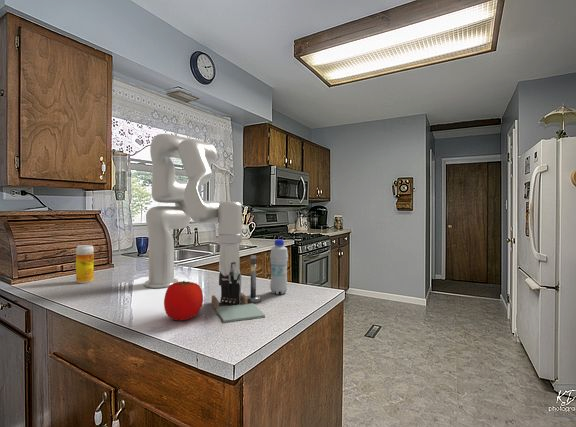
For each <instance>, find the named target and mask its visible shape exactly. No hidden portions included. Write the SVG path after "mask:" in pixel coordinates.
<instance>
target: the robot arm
mask: <svg viewBox="0 0 576 427" xmlns="http://www.w3.org/2000/svg"><path fill="white" fill-rule="evenodd" d="M216 149H217V148H215V146H214V145H213V144H211V143H210V142H207V141H206V142H205V141H202V140H198V139H193V138H189V137H184V136H180V135H175V134H170V133H159V134H157V135H155V136H154V137H153V138H152V140H151V142H150V149H149V150H150V151H149V152H150V159H151V164H152V172H151V173H152V174H151V175H152V177H151V197H152V200H153V201H155V202H157V203H159V204H160V203H163V204H174V205H172V206H171V205H156V206H153V207H151V208H149V209H148V210H147V211H146V214H145V221H146V227H147V232H148V280H145V282H144V287H145V288H148V289H149V288H152V289H162V288H168V287H169V286H170V285H171V284H173V283H176V282H179V279H176V278H175V239H174V237H173V235H172V234H171V232H170V230H181V229H182V230H183V229H185V228H187V227H188V226H189V225H190V221H191V220H192V221H193V222H194V223H197V224H198V225H199V224H200V225H201V224H203V225H205V224H217V226H218V229H217V230H218V232H217V233H218V234H217V238H218V239H217V245H219V260H218V261H219V262H218V263H219V264H218V271H219V273H220V272H221V274H222V275H223V276H225V277H226V275H228V279H229V283H228V296H238V294H239V281H238V275H239V271H240V269H241V268H240V264H241V262H240V261H241V260H240V245H243V244H242V243H243V240H242V238H243V236H242V234H243V232H242V231H243V230H242V227H243V224H242V223H243V219H242V218H243V217H242V216H243V215H242V214H243V206H242V204H241V202H239V201H224V200H223V201H221V200H220V201H219V200H202V198H201V196H200V193H199V188H198V187H201V186H203V185H206V184H207V183H208V182H210V181H211V179H212V178H213V171H212V170H211V169H212V168H211V167H210V166H211V165H213V164H214V163H215V162H216V161H217V159H218V158H217V157H218V156H217V155H218V153H217V150H216ZM172 158H174V159H180V161H181V164H182V166H183V169H184V172H185V174H186V177H187V179H188V182H187V181H186V180H179V179H176V167H175V163H174V162H173V160H172ZM231 277H232V278H231Z"/></svg>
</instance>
